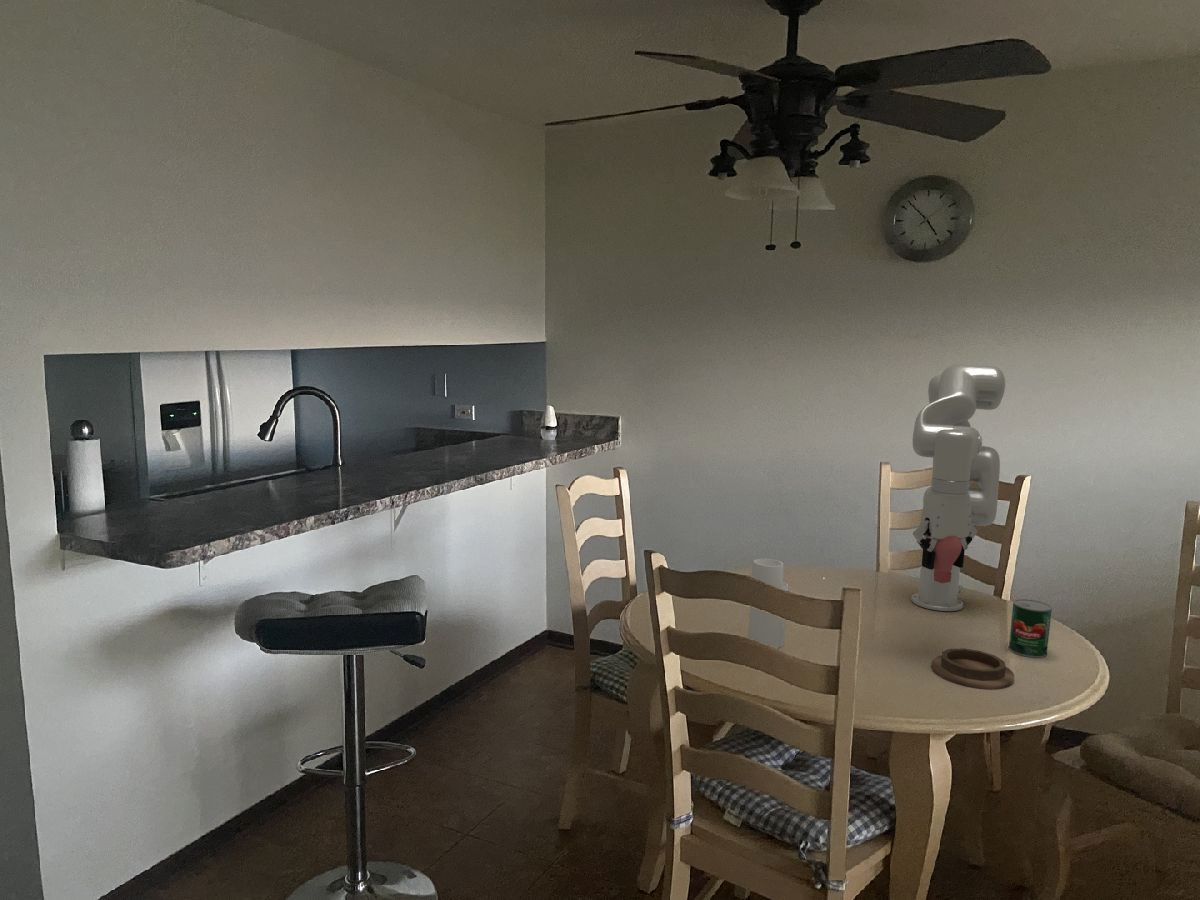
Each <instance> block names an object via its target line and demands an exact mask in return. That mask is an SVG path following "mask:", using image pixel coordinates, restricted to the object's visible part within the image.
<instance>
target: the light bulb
mask: <svg viewBox="0 0 1200 900" xmlns="http://www.w3.org/2000/svg"><path fill="white" fill-rule="evenodd" d="M930 542H931V540H930V541H929V543H930ZM961 550H962V544H961V540H960V539H959V538H958V537H957V536H948V537H946V538H944V539H941V540H938V541H937V543H936V545H935V547H934V549H933V551H934V552H935V560H934V581H936V582H939V583H941V584H943V583H948V582H951V580H950V579H951V577H952V576H951V574H952V573H951V572H950V571H951V570H952V565H953V564H954V562H955V561H956V560H957V558H958V556H959V555H960V553H961Z"/></svg>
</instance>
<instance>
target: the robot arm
mask: <svg viewBox="0 0 1200 900" xmlns="http://www.w3.org/2000/svg"><path fill="white" fill-rule="evenodd" d="M927 389H928V393H927V394H928V401H929V404H927V405H926V406H924V407H923V408H922V409H921V410H920V411H919V412H918V413H917V416H916V418H915V420H914V426H913V433H912V448H913V451H914V453H915V454H916V455H918V456H920V457H924V458H932V474H931V484H930V486H929V487H928V488H927V489H926V490H925V492H924V493H923V498H922V501H923V502H922V504H923V505H922V509H921V510H922V511H921V515H920V522H919V526H918V527H917V528H916V529H915V530H914V531H913V532H912V535H913V537H914V538H915V540H916V542H917V544H918V546H919V547H920V549H922V551H921V558H920V559H921V560H920V561H921V562H920V572H919V582H918V592H916V593H914V594H912V595H911V602H912V603H913V604H915V605H916V606H919V607H922V608H925V609H928V610H932V611H939V612H955V611H960V610H962V609H963V607H964V602H963V601H962V600H961V599H960V598H958V595H959V594H960V593H963V592H964V589H965V588H964V586H963V585H961V584H959V583H960V582H959V581H960V573H961V569H962V568H964V562H965V552H966V550H968V548H969V545H970V543H971V542H972V541H973V539H974V538H975V537H976V535H977V534H978V529H977V528H976V527H975V526H978V527H979V526H981V527H987V526H991V525H992V524H993V523H994V522H995V520H996V516H997V509H998V499H999V486H1000V484H999V483H1000V471H1001V469H1000V468H1001V460H1000V455H999V453H998V450H996V449H995V448H993V447H990V446H984V445H982V444H983V438H982V435H981V434H980V432H979V431H978V430H977V428H973V427H972V426H971V423H970V422H969V420H970V419H972V418H973V416H974V415H975V412H976V410H984V411H986V410H987V411H991V410H995V409H997V408H998V407H999V406H1000V405H1001V402H1002V400H1003V397H1004V395H1005V390H1006V378H1005V375H1004V372H1003V370H1002V369H1000V368H999V367H997V366H993V365H977V364H975V365H974V364H954V365H951V366H948V367H947V368H945V369H944V370H943V371H942V373H941V374H938V375H935V376H933V377H931V379H930V380H929V383H928V387H927ZM972 483H974V484H977V485H978V487H974V486H973V487H972ZM948 536H957V537H958V538H959V539H960V540H961V544H962V550H961V553H960V555H959V556H958V558H957V560H956V561H955V562H954V564H953V565H952V570H951V571H950V572H951V573H952V574H951V576H952V577H951V579H950V580H951V582H948V583H943V584H941V583H939V582H936V581H934V560H935V552H934V551H933V549H934V547H935V545H936V543H937V541H938V540H941V539H944V538H946V537H948ZM930 540H931V542H930V543H929V541H930Z"/></svg>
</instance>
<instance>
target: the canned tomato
mask: <svg viewBox="0 0 1200 900" xmlns="http://www.w3.org/2000/svg"><path fill="white" fill-rule="evenodd" d="M1011 609H1012V611H1011V612H1012V613H1011V620H1010V621H1011V622H1010V629H1009V641H1008V650H1009V651H1010V652H1012V653H1014V654H1016V655H1019V656H1023V657H1027V658H1034V659H1037V658H1038V659H1041V657H1042V658H1045V657H1047V656H1048V648H1049V638H1050V629H1051V628H1050V627H1051V620H1052V619H1051V618H1052V610H1053V607H1052V606H1051V605H1050V604H1048V603H1046V602H1043V601H1040V600H1036V599H1028V598H1018V599H1014V600H1013V601H1012V608H1011ZM1046 655H1047V656H1046Z"/></svg>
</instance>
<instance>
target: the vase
mask: <svg viewBox="0 0 1200 900" xmlns="http://www.w3.org/2000/svg"><path fill="white" fill-rule="evenodd" d="M784 566H785V564H784V562H783V561H781V560H777V559H774V558H754V560H752V565H751V579H752V578H755V579H757V580H760V581H762V582H765V583H767V584H770V585H772V586H775V587H777V588H780V589H782V590H785V591H788V592H789V584H788V583H787V582H784V580H783V579H784ZM748 617H749V618H748V630H747V631H748V634H747V639H748V638H749V639H753V640H756V641H760V642H762V643H765V644H768V645H770V646H772V647H774V648H777V649H778V650H779V648H782V647H784V646H785V642H786V641H785V640H786V623H787V620H786V621H785V620H783V619H781V618H779V617H777V616H775V615H772V614H769V613H766V612H764V611H761V610H757V609H754V608H752V607H750V606H749V615H748Z"/></svg>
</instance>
